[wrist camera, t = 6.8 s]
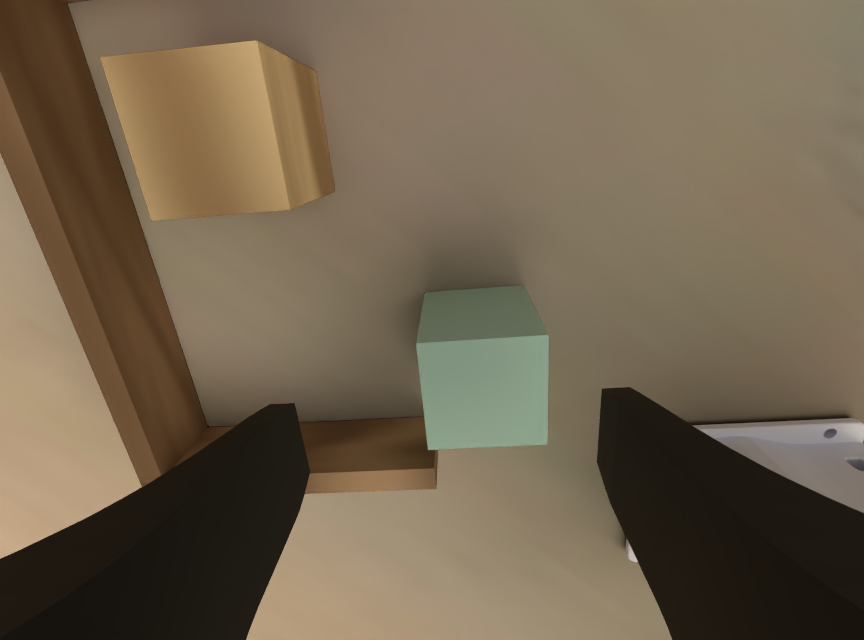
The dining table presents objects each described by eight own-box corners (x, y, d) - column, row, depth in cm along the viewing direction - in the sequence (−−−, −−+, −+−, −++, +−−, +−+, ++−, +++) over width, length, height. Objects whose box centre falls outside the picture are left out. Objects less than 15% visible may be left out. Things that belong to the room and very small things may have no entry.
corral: (388, -77, 13) (369, -147, 10) (438, 434, 21) (436, 488, 17) (25, -30, 14) (-99, -81, 11) (193, 445, 21) (147, 499, 18)
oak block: (316, 71, 15) (256, 40, 11) (335, 191, 17) (290, 209, 12) (205, 82, 15) (99, 57, 11) (233, 199, 17) (151, 220, 12)
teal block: (523, 284, 18) (548, 335, 13) (524, 371, 19) (547, 444, 15) (424, 291, 18) (415, 343, 13) (433, 377, 20) (428, 449, 15)
